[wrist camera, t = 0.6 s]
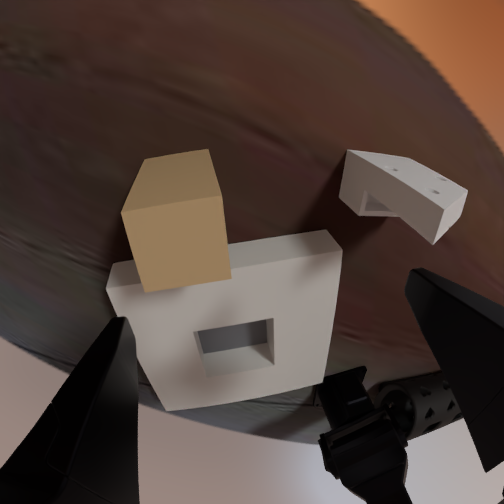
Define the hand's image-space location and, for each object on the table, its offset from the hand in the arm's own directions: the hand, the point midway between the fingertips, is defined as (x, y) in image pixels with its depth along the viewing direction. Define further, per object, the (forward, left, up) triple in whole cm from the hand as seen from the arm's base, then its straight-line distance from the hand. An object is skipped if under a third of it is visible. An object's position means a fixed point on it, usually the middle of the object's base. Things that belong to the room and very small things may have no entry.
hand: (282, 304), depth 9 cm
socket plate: (-13, +1, -13) cm, 18 cm away
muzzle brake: (-36, -31, -13) cm, 49 cm away
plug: (0, +3, -13) cm, 13 cm away
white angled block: (-1, -11, -13) cm, 17 cm away
